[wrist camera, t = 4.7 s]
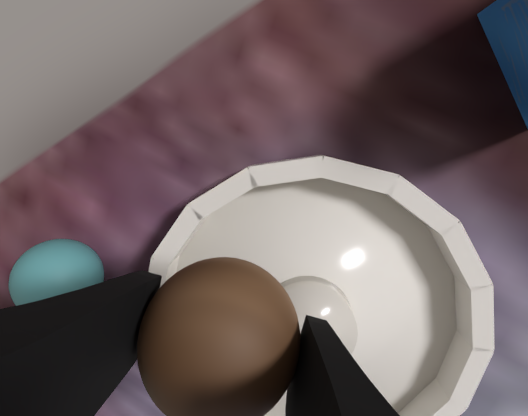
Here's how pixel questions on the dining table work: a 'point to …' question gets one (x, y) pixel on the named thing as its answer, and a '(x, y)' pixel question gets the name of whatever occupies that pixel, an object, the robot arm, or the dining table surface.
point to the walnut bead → (218, 341)
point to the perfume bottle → (510, 45)
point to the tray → (356, 270)
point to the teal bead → (54, 270)
